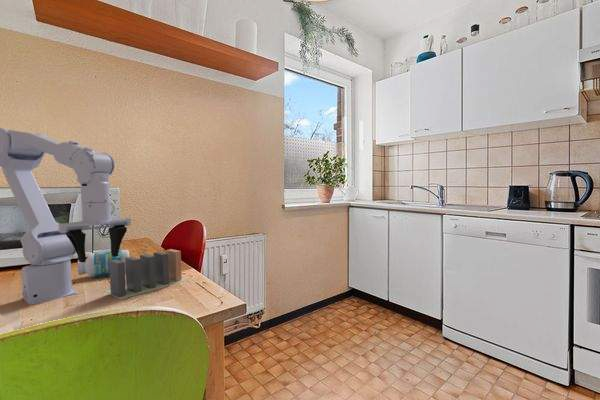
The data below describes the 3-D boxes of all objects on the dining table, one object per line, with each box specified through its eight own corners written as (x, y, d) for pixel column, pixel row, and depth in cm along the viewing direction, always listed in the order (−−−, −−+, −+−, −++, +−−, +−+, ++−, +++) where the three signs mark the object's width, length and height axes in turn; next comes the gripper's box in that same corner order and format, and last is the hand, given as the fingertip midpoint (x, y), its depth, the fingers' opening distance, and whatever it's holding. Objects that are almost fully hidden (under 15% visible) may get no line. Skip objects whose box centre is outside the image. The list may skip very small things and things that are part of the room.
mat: (121, 300, 72) (120, 299, 72) (104, 292, 78) (104, 291, 78) (187, 281, 87) (187, 279, 87) (169, 275, 93) (169, 274, 93)
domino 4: (163, 285, 83) (162, 254, 82) (154, 281, 86) (153, 252, 85) (169, 283, 84) (168, 253, 83) (160, 280, 87) (159, 251, 86)
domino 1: (119, 297, 73) (117, 263, 73) (110, 293, 76) (109, 260, 76) (126, 295, 75) (124, 262, 74) (117, 291, 78) (116, 259, 77)
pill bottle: (130, 271, 94) (77, 279, 87) (130, 272, 100) (80, 280, 93) (128, 248, 95) (76, 254, 88) (129, 250, 101) (80, 256, 95)
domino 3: (150, 288, 80) (148, 257, 79) (141, 285, 83) (139, 255, 82) (155, 287, 81) (154, 256, 80) (146, 283, 84) (145, 253, 83)
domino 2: (135, 293, 76) (133, 260, 76) (126, 289, 79) (125, 257, 79) (141, 291, 78) (140, 259, 77) (132, 287, 81) (131, 256, 80)
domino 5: (176, 281, 86) (175, 252, 85) (167, 278, 89) (166, 250, 88) (181, 280, 87) (180, 251, 86) (172, 277, 90) (171, 249, 90)
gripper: (64, 204, 63) (67, 267, 64) (135, 201, 75) (138, 254, 75) (54, 204, 67) (57, 263, 68) (123, 200, 79) (125, 251, 80)
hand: (99, 258), depth 72 cm, fingers open, 6 cm apart
